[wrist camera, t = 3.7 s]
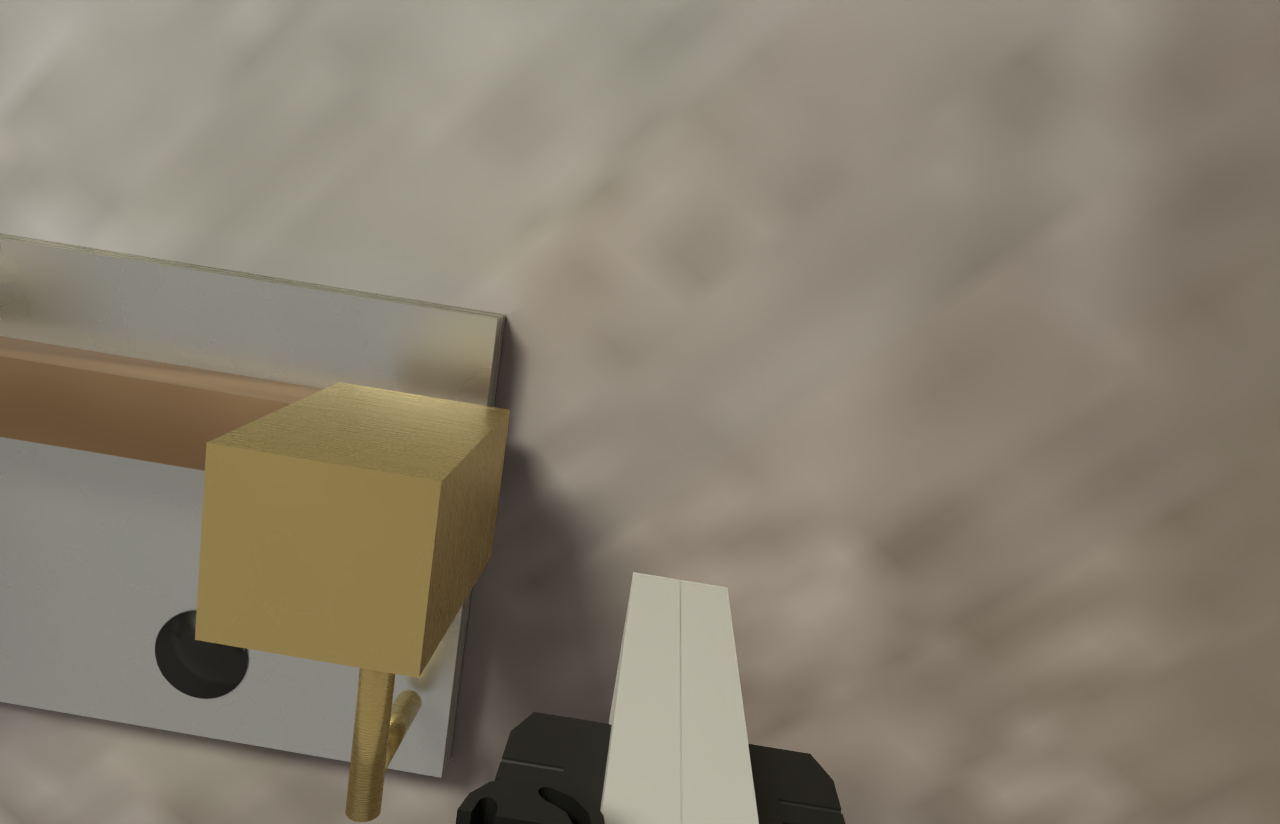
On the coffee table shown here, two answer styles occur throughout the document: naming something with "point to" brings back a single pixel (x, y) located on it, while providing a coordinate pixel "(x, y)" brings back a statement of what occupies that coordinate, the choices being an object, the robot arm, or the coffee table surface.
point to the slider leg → (351, 544)
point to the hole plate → (197, 500)
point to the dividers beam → (127, 402)
